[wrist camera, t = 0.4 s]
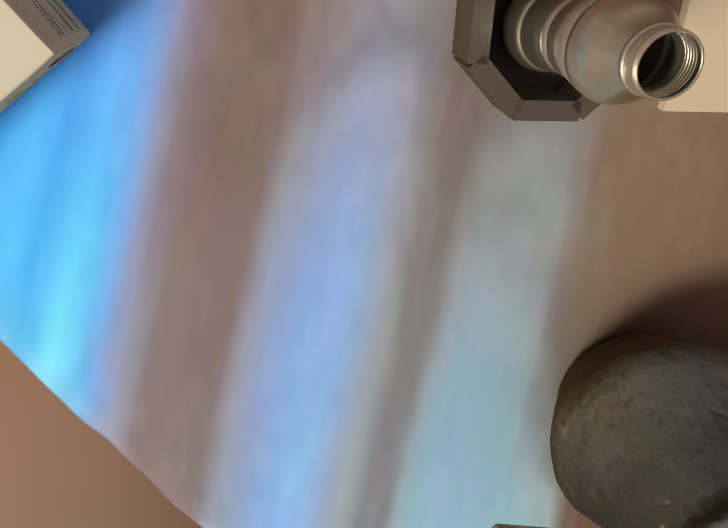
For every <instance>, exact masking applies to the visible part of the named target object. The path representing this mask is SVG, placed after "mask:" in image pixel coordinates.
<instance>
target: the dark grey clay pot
mask: <svg viewBox="0 0 728 528" xmlns="http://www.w3.org/2000/svg"><path fill="white" fill-rule="evenodd" d="M550 447H551V457H552V463H553V468H554V473H555V477H556V480H557V482H558V485H559V486H560V488H561V490H562V492H563V494H564V496H565V497H566V498H567V500H568V501H569V502H570V503H571V505H572V506H573V507H574V508H575V509H576V510H577V511H579V512H580V513H582V514H583V515H584V516H586V517H587V518H589V519H590V520H592V521H593V522H594V523H596V524H598V525H599V526H601V527H603V528H728V351H727V350H724V349H722V348H719V347H716V346H712V345H707V344H701V343H695V342H687V341H682V340H677V339H672V338H666V337H661V336H651V335H647V334H627V335H624V336H620V337H616V338H613V339H610V340H608V341H605V342H603V343H601V344H599V345H597V346H596V347H594V348H592V349H591V350H589V351H588V352H586V353H585V354H583V355H582V356H581V357H580V358H579V359H578V360H576V361H575V362H574V363H573V364H572V366H571V367H570V368H569V370H568V371H567V373H566V374H565V376H564V378H563V380H562V382H561V384H560V387H559V391H558V397H557V402H556V405H555V410H554V415H553V420H552V425H551V435H550Z"/></svg>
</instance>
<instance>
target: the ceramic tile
mask: <svg viewBox="0 0 728 528" xmlns="http://www.w3.org/2000/svg"><path fill="white" fill-rule="evenodd" d="M679 20H680V23H681V26H682V28H683V29H687V30H689V31H691V32H693V33H694V34H695V35H696V36H697V37H698V38H699V39H700V41H701V42H702V45H703V48H704V55H705V58H704V64H703V68H702V71H701V73H700V75H699V77H698V79H697V80H696V82H695V83H694V84H693V85H692V86H691V87H690V88H689V89H688V90H687V91H686V92H685V93H683V94H682V95H680V96H678V97H676V98H674V99H671V100H667V101H659V104H658V109H660V110H662V111H691V112H728V0H683V2H682V6H681V10H680V14H679Z"/></svg>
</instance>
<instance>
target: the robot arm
mask: <svg viewBox="0 0 728 528" xmlns="http://www.w3.org/2000/svg"><path fill="white" fill-rule="evenodd" d="M492 528H546V527H534V526H521V525H509V524H495V525H494V526H492Z"/></svg>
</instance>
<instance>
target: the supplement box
mask: <svg viewBox="0 0 728 528" xmlns="http://www.w3.org/2000/svg"><path fill="white" fill-rule="evenodd" d="M89 36H90V32H89V31H88V30H87V29H86V28H85V26H84V25H83V24H82V23H81V22H80V20H79V19H78V18H77V17H76V16H75V15H74V14H73V12H72V11H71V10H70V9H69V8H68V7H67V6H66V5H65V3H64V2H63V1H62V0H0V113H1V112H2V111H3V110H4V109H6V108H7V107H8V106H9V105H10V104H11V103H13V102H14V101H15V100H16V99H17V98H18V97H20V96H21V95H22V94H23V93H24V92H25V91H27V90H28V89H29V88H30V87H31V86H32V85H34V84H35V83H36V82H37V81H38V80H40V79H41V78H42V77H43V76H44V75H45V74H47V73H48V72H49V71H50V70H51V69H52V68H54V67H55V66H56V65H57V64H58V63H59V62H61V61H62V60H63V59H64V58H65V57H67V56H68V55H69V54H70V53H71V52H72V51H74V50H75V49H76V48H77V47H78V46H79V45H80V44H81V43H83V42H84V41H85V40H86V39H87V38H88V37H89Z"/></svg>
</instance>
